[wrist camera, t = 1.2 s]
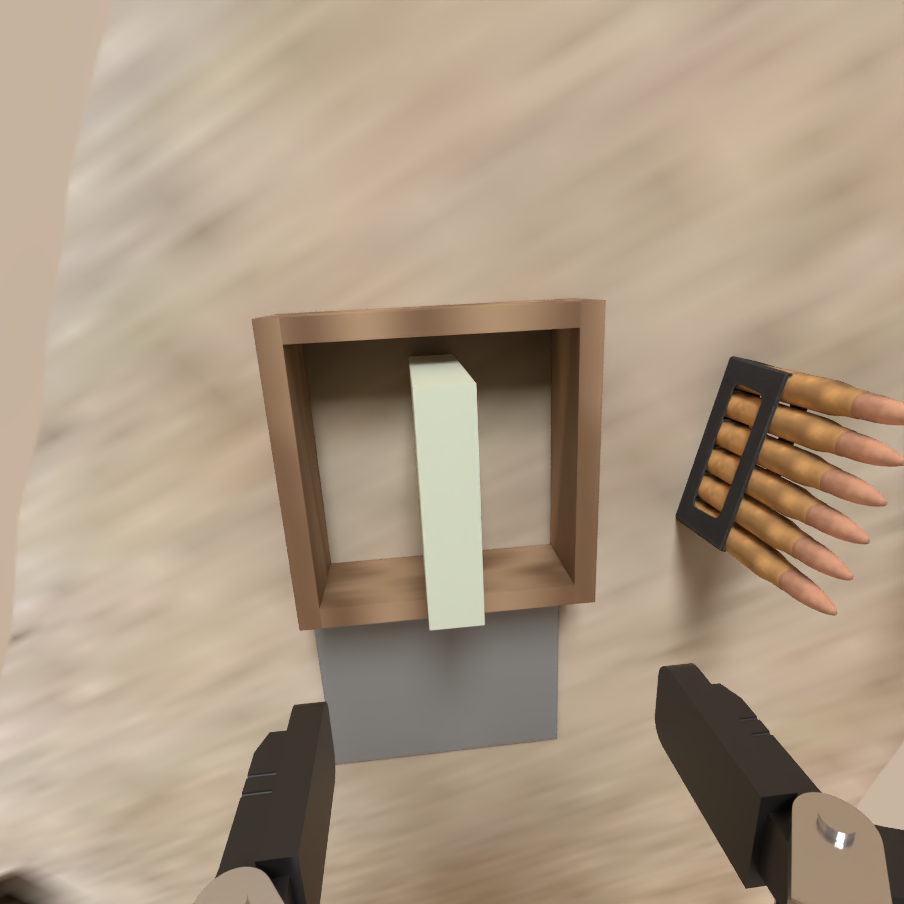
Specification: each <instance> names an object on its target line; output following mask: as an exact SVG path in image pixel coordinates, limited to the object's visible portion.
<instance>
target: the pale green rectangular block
mask: <svg viewBox="0 0 904 904" xmlns="http://www.w3.org/2000/svg"><path fill="white" fill-rule="evenodd" d="M408 358H409V372H410V386H411V400H412V414H413V428H414V441H415V455H416V469H417V483H418V497H419V511H420V525H421V538H422V549H423V561H424V572H425V583H426V595H427V606H428V617H429V629H430V630H440V629H450V628H460V627H470V626H480V625H485V615H484V587H483V558H482V530H481V501H480V473H479V444H478V415H477V387H476V383H475V381H474V380H473V379H472V378H471V376H470V375H469V374H468V373H467V371H466V370H465V369H464V368H463V367H462V365H461V364H460V363H459V362H458V360H457V359H456V358H455V357H454V355H453V354H447V355H430V356H413V357H408Z"/></svg>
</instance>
